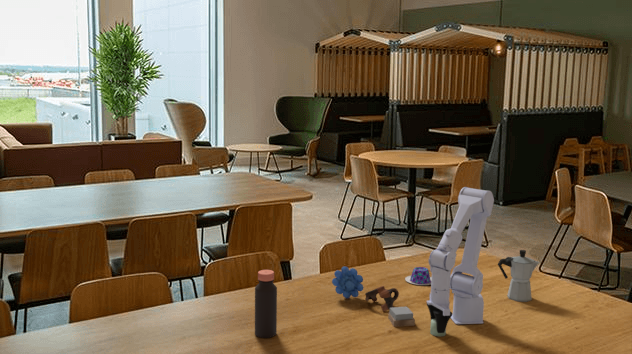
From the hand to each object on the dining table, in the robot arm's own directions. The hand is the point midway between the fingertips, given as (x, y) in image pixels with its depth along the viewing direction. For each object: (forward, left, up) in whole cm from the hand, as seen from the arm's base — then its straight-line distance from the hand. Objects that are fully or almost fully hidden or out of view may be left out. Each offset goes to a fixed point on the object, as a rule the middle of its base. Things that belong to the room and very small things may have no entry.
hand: (438, 329), depth 206 cm
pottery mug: (+12, -25, -2) cm, 28 cm away
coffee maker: (-39, -29, -2) cm, 49 cm away
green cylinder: (0, 0, -1) cm, 1 cm away
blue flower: (+23, -32, -2) cm, 39 cm away
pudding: (-9, -50, -2) cm, 51 cm away
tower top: (+9, -10, 0) cm, 14 cm away
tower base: (+9, -10, -2) cm, 14 cm away
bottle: (+54, -4, -2) cm, 54 cm away
